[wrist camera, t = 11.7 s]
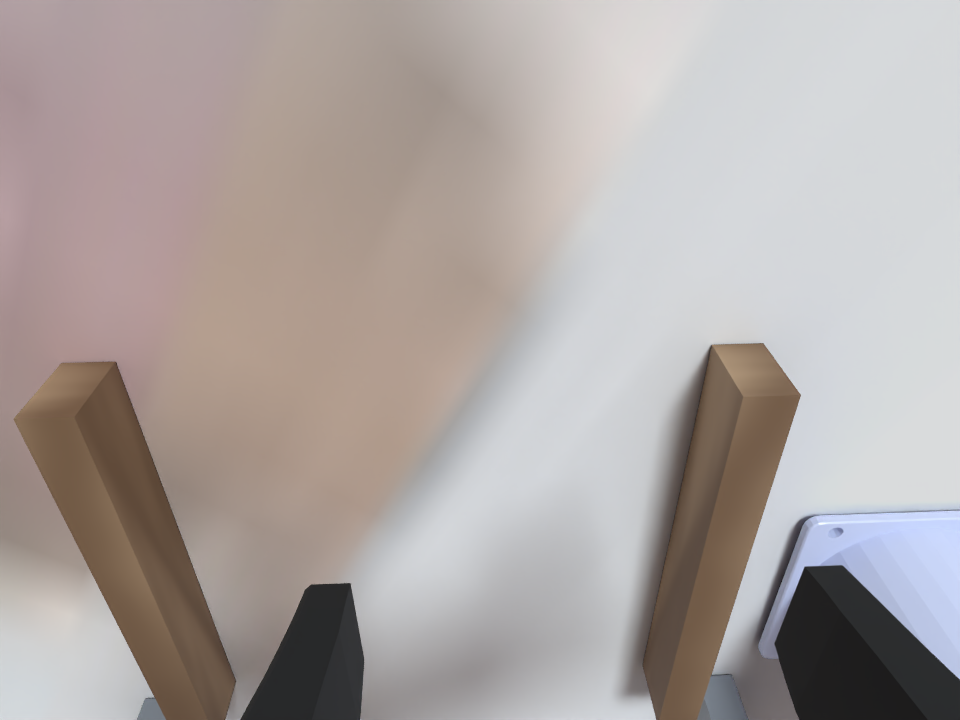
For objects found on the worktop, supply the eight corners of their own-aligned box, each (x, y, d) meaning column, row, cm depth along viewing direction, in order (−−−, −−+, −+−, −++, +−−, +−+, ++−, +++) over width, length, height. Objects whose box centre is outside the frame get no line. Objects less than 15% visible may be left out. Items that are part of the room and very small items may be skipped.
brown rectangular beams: (763, 343, 19) (801, 395, 17) (677, 663, 28) (696, 723, 26) (61, 363, 19) (13, 419, 17) (199, 683, 28) (178, 745, 26)
